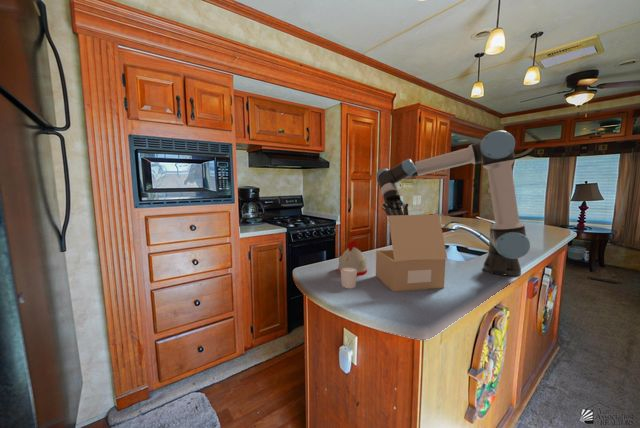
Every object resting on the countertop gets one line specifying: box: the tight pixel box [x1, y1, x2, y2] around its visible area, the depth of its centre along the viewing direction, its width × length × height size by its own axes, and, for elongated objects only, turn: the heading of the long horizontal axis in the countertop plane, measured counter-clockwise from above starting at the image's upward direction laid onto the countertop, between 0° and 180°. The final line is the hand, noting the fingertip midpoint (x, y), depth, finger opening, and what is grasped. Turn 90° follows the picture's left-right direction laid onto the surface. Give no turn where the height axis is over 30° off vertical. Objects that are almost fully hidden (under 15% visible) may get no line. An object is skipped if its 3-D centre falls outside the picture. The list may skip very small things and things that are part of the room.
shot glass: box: [340, 267, 358, 289], centre depth 109 cm, size 7×7×7 cm
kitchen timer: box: [337, 240, 368, 277], centre depth 127 cm, size 14×14×15 cm
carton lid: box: [387, 214, 448, 261], centre depth 106 cm, size 18×22×1 cm
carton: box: [375, 249, 446, 293], centre depth 113 cm, size 18×22×12 cm
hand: (405, 234), depth 115 cm, fingers closed
